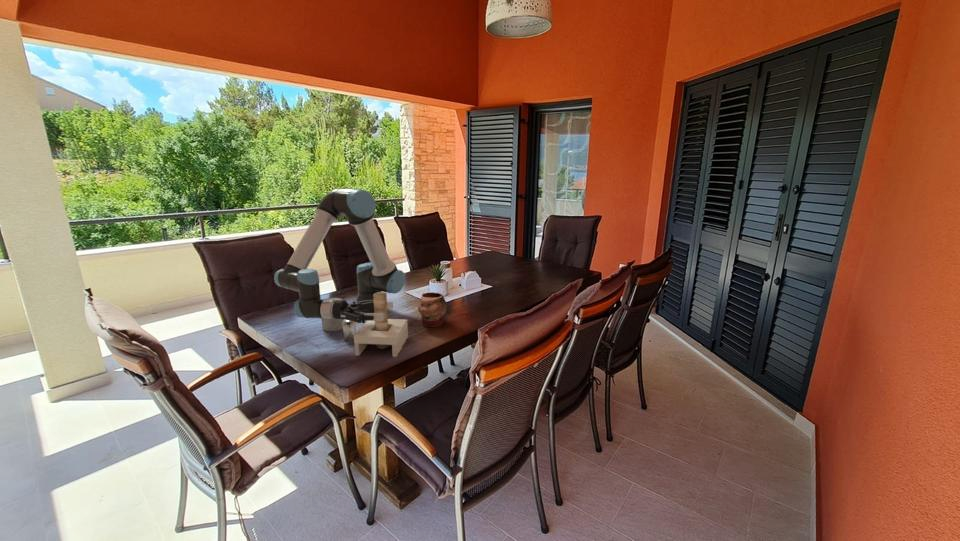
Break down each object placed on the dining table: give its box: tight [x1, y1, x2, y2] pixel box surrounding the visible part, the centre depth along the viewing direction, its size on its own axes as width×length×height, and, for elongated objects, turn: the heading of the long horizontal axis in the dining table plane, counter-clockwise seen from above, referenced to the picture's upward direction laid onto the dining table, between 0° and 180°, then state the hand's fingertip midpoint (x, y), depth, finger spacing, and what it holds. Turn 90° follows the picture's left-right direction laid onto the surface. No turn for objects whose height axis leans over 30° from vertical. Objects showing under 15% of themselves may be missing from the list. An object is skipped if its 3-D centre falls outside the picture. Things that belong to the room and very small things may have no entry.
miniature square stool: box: [353, 318, 409, 358], centre depth 153 cm, size 18×16×8 cm
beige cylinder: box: [320, 297, 344, 332], centre depth 171 cm, size 10×10×12 cm
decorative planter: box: [417, 292, 448, 328], centre depth 177 cm, size 20×12×14 cm, turn 168°
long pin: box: [373, 291, 390, 349], centre depth 152 cm, size 5×5×22 cm
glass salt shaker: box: [342, 319, 357, 342], centre depth 160 cm, size 5×5×8 cm
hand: (388, 310), depth 151 cm, fingers open, 13 cm apart
